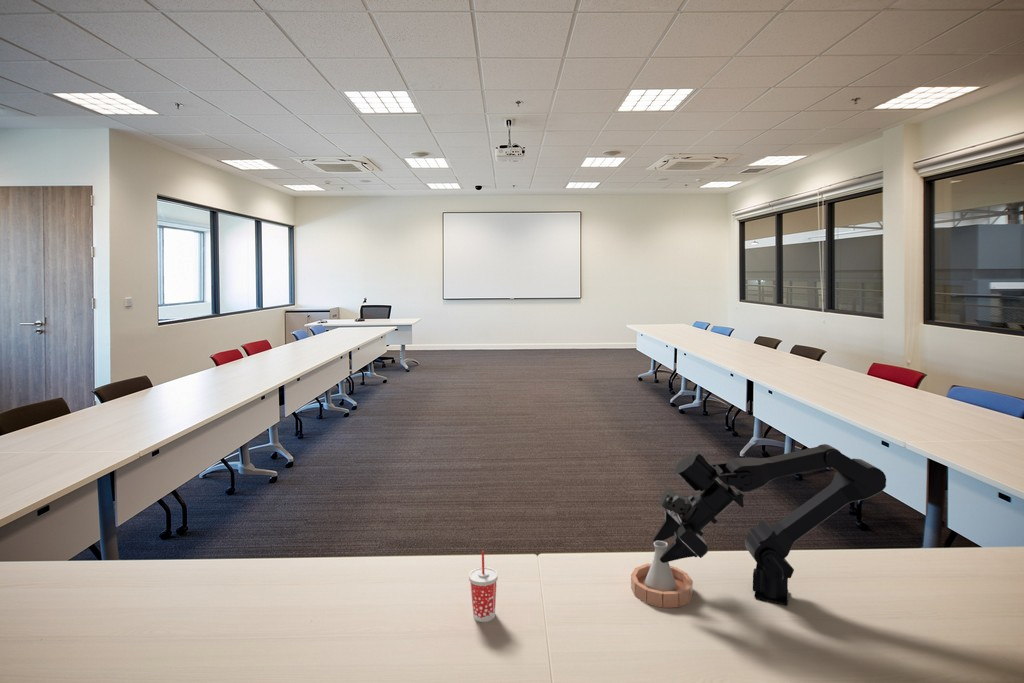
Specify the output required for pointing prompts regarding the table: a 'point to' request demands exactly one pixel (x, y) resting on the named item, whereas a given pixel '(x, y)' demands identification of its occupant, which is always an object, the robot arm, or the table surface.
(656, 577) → the flask
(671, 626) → the table surface
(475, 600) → the beverage cup
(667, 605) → the bowl
